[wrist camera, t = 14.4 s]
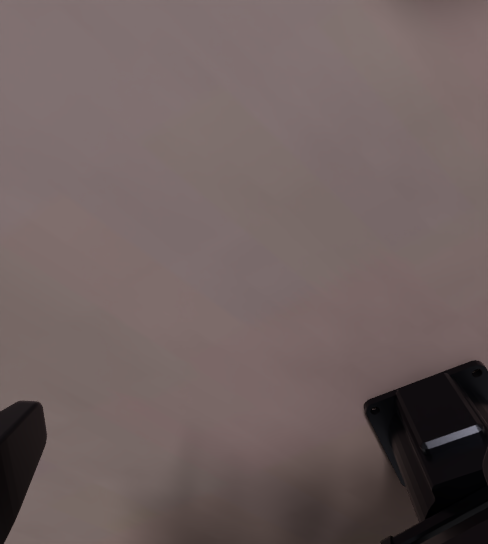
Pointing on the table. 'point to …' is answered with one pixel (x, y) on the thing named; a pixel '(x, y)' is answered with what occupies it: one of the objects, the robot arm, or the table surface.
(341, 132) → the table surface
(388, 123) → the table surface
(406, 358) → the table surface
